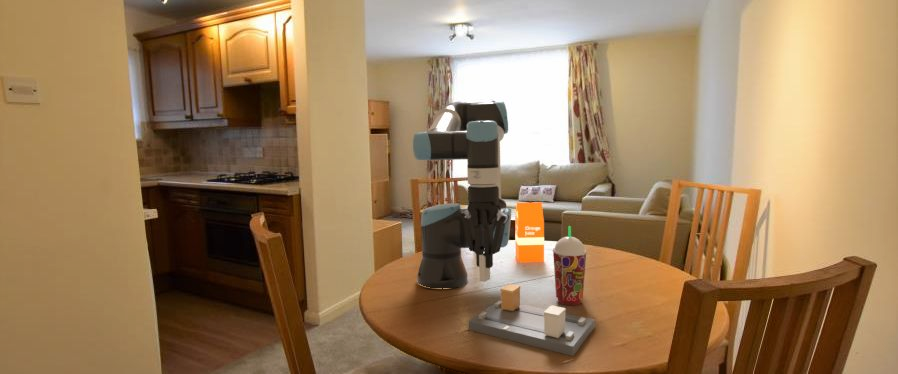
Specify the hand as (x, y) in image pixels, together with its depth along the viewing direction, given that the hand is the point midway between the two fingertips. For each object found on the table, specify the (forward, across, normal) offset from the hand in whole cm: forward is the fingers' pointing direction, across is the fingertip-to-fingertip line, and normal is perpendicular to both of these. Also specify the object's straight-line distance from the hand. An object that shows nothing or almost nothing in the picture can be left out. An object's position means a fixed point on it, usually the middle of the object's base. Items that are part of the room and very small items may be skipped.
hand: (484, 279), depth 110 cm
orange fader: (+6, +7, 0) cm, 9 cm away
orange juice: (+8, -9, +48) cm, 50 cm away
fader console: (+8, +14, -4) cm, 16 cm away
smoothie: (+8, +16, +16) cm, 24 cm away
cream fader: (+6, +21, -8) cm, 23 cm away
